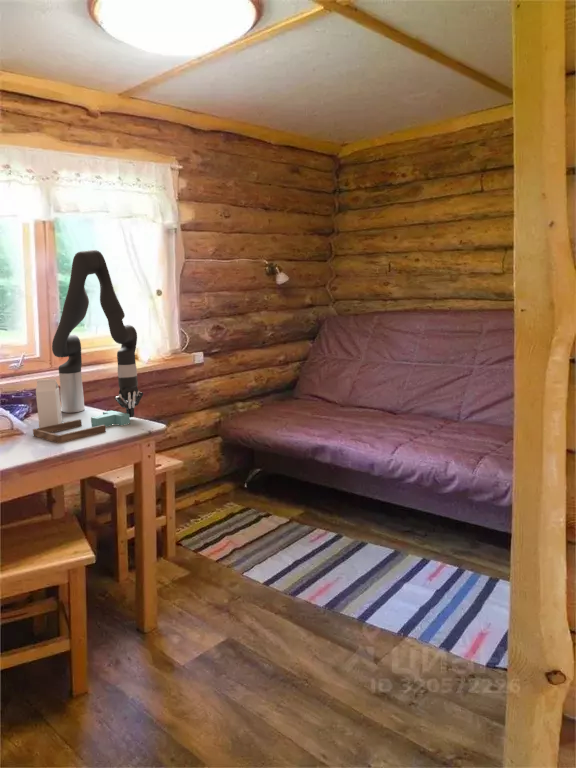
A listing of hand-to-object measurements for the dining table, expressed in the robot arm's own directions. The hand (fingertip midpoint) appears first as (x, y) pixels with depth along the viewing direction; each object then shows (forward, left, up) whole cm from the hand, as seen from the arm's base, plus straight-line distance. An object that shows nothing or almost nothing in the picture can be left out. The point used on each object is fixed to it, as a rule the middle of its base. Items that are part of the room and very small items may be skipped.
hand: (130, 416), depth 245 cm
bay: (0, -27, -1) cm, 27 cm away
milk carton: (-16, -26, -1) cm, 30 cm away
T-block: (0, -11, -1) cm, 11 cm away
